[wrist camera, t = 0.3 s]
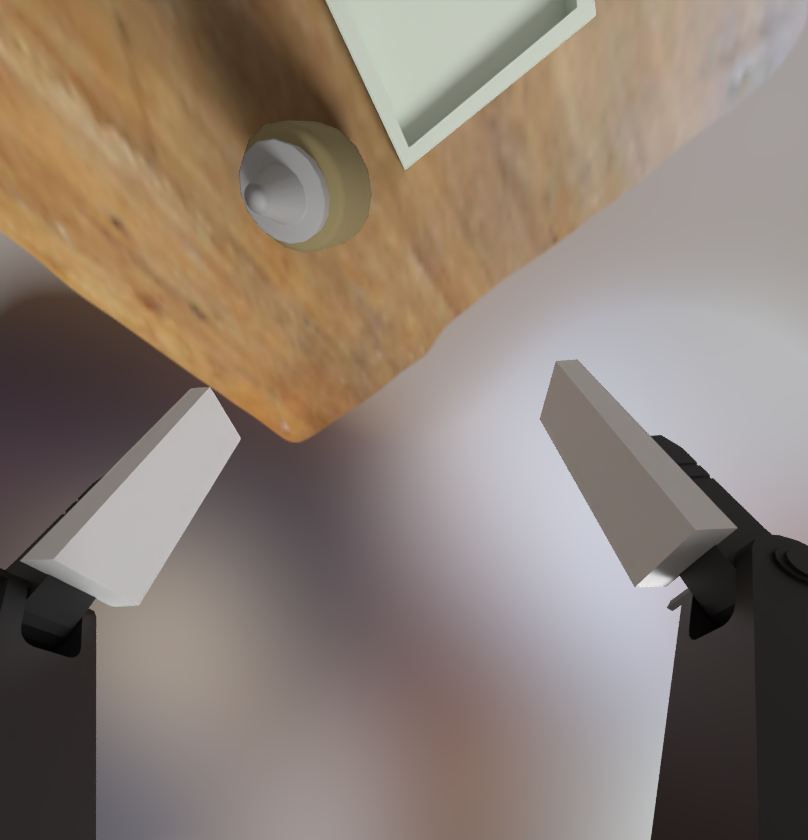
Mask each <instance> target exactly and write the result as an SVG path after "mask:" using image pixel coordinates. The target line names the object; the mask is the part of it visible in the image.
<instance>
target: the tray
mask: <svg viewBox="0 0 808 840" xmlns="http://www.w3.org/2000/svg"><path fill="white" fill-rule="evenodd" d="M325 1H326V3H327V5H328V7H329V10H330V12H331V14H332V16H333V18H334V20H335V22H336V25H337V27H338V29H339V31H340V33H341V35H342V37H343V40H344V42H345V44H346V46H347V48H348V50H349V52H350V54H351V57H352V59H353V61H354V63H355V65H356V67H357V69H358V72H359V74H360V76H361V78H362V80H363V82H364V84H365V87H366V89H367V91H368V93H369V95H370V97H371V99H372V101H373V104H374V106H375V108H376V110H377V112H378V114H379V116H380V119H381V121H382V123H383V125H384V127H385V129H386V131H387V134H388V136H389V138H390V140H391V142H392V144H393V146H394V148H395V151H396V153H397V155H398V157H399V159H400V161H401V163H402V166H403V168H404V170H406V169H408V168H409V167H410V166H411V165H413V164H414V163H415V162H416V161H418V160H419V159H420V158H421V157H422V156H424V155H425V154H426V153H427V152H429V151H430V150H431V149H432V148H434V147H435V146H436V145H437V144H439V143H440V142H441V141H442V140H443V139H445V138H446V137H447V136H448V135H450V134H451V133H452V132H453V131H455V130H456V129H457V128H458V127H460V126H461V125H462V124H463V123H464V122H466V121H467V120H468V119H469V118H471V117H472V116H473V115H474V114H476V113H477V112H478V111H479V110H481V109H482V108H483V107H484V106H486V105H487V104H488V103H489V102H490V101H492V100H493V99H494V98H495V97H497V96H498V95H499V94H500V93H502V92H503V91H504V90H505V89H507V88H508V87H509V86H510V85H511V84H513V83H514V82H515V81H516V80H518V79H519V78H520V77H521V76H523V75H524V74H525V73H526V72H528V71H529V70H530V69H531V68H532V67H534V66H535V65H536V64H537V63H539V62H540V61H541V60H542V59H544V58H545V57H546V56H547V55H549V54H550V53H551V52H552V51H554V50H555V49H556V48H557V47H558V46H560V45H561V44H562V43H563V42H565V41H566V40H567V39H568V38H570V37H571V36H572V35H573V34H575V33H576V32H577V31H578V30H579V29H581V28H582V27H583V26H584V25H585V24H587V23H588V22H589V21H590V20H591V19H592V18H594V17H595V16H596V10H595V2H594V0H325Z"/></svg>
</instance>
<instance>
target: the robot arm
mask: <svg viewBox="0 0 808 840" xmlns="http://www.w3.org/2000/svg"><path fill="white" fill-rule="evenodd" d="M540 420H541V422H542V424H543V425H544V427H545V429H546V431H547V433H548V434H549V436H550V438H551V440H552V441H553V443H554V445H555V447H556V449H557V450H558V452H559V454H560V456H561V457H562V459H563V461H564V463H565V464H566V466H567V468H568V470H569V472H570V473H571V475H572V477H573V479H574V480H575V482H576V484H577V485H578V487H579V489H580V491H581V493H582V495H583V496H584V498H585V500H586V502H587V503H588V505H589V507H590V509H591V510H592V512H593V514H594V516H595V518H596V519H597V521H598V523H599V525H600V526H601V528H602V530H603V532H604V533H605V535H606V537H607V539H608V541H609V542H610V544H611V546H612V548H613V549H614V551H615V553H616V555H617V557H618V558H619V560H620V562H621V564H622V565H623V567H624V569H625V571H626V572H627V574H628V576H629V578H630V580H631V581H632V583H633V585H634V587H658V586H667V585H669V584H670V583H671V582H672V581H674V580H675V579H676V578H677V577H678V576H680V577H681V578H682V580H683V581H684V583H685V584H686V585H687V587H688V589H686V590H685V591H683V592H682V593H681V594H679V595H678V596H677V597H675V598H674V599H673V600H671V601H670V603H669V605H668V607H667V608H668V609H670V610H672V611H673V610H675V609H676V608H677V607H679V606H680V605H682V606H681V614H680V621H679V628H678V637H677V644H676V651H675V659H674V667H673V674H672V682H671V690H670V697H669V705H668V713H667V720H666V728H665V735H664V743H663V751H662V759H661V766H660V774H659V782H658V789H657V797H656V804H655V812H654V819H653V827H652V835H651V840H808V546H807V545H805V544H803V543H801V542H799V541H797V540H793V539H790V538H786V537H783V536H780V535H771V533H770V532H768V531H767V530H766V529H764V528H763V526H762V525H761V524H759V522H758V521H756V520H755V519H754V518H753V517H752V516H751V515H750V514H749V513H748V512H747V511H746V510H745V509H744V508H743V507H742V506H741V505H740V504H739V503H738V502H737V501H736V500H735V499H734V498H733V497H732V496H731V495H730V494H729V493H728V492H727V491H726V490H725V489H724V488H723V487H722V486H721V485H719V483H717V482H716V481H715V480H714V479H713V478H712V479H711V478H710V475H709V474H708V473H707V472H706V471H705V470H704V469H703V468H702V467H701V466H698V465H697V462H696V461H695V460H694V459H693V458H692V457H691V456H690V455H689V454H687V452H686V451H685V450H684V449H683V448H681V447H680V446H678V445H676V444H675V443H673V442H671V441H670V440H668V439H667V438H665V437H663V436H662V435H658V436H650V435H649V434H648V433H647V432H646V431H645V430H644V429H643V428H642V427H641V426H640V425H639V424H638V423H637V422H636V421H635V420H634V419H633V418H632V416H631V415H630V414H629V413H628V412H627V411H626V410H625V409H624V408H623V407H622V406H621V405H620V404H619V403H618V402H617V401H616V400H615V399H614V397H613V396H612V395H611V394H610V393H609V392H608V391H607V390H606V389H605V388H604V387H603V386H602V385H601V384H600V383H599V382H598V381H597V380H596V379H595V378H594V377H593V376H592V374H591V373H590V372H589V371H588V370H587V369H586V368H585V367H584V366H583V365H582V364H581V363H580V362H579V361H578V360H566V361H556V363H555V367H554V370H553V374H552V377H551V381H550V385H549V388H548V392H547V395H546V399H545V402H544V406H543V409H542V413H541V417H540ZM240 439H241V438H240V436H239V434H238V433H237V431H236V429H235V428H234V426H233V424H232V423H231V421H230V420H229V418H228V416H227V414H226V413H225V411H224V409H223V408H222V406H221V405H220V403H219V401H218V400H217V398H216V396H215V395H214V393H213V391H212V390H211V388H210V387H203V388H191V389H190V390H189V391H188V392H187V393H186V394H185V395H184V396H183V397H182V398H181V399H180V400H179V401H178V402H177V403H176V404H175V405H174V406H173V407H172V408H171V409H170V410H169V411H168V412H167V413H166V414H165V415H164V416H163V417H162V418H161V419H160V420H159V421H158V422H157V423H156V424H155V425H154V426H153V427H152V428H151V429H150V430H149V431H148V432H147V433H146V434H145V435H144V436H143V437H142V438H141V439H140V440H139V441H138V442H137V444H135V445H134V446H133V447H132V448H131V449H130V450H129V451H128V453H126V455H125V456H123V458H122V459H120V460H119V462H118V463H116V464H115V466H114V467H112V469H111V470H110V471H109V472H108V473H107V474H106V475H104V476H103V477H101V478H100V479H99V480H97V481H96V482H94V483H93V484H92V485H91V486H90V487H89V488H88V489H87V490H86V491H85V492H84V493H83V494H82V495H81V496H80V497H79V498H78V501H76V502H74V503H73V504H72V505H71V506H70V507H69V508H68V509H67V510H66V513H65V514H62V515H61V516H60V517H59V518H58V519H57V520H56V521H55V522H54V523H53V524H52V525H51V526H50V527H49V528H48V529H47V530H46V531H45V532H44V533H43V534H42V535H41V536H40V537H39V538H38V539H37V540H36V541H35V542H34V543H33V544H32V545H31V546H30V547H29V548H28V549H27V550H26V551H25V552H24V553H23V554H22V555H21V556H20V557H19V558H18V559H17V560H16V561H15V562H14V563H13V564H11V565H10V566H9V567H8V568H7V569H6V570H3V569H1V568H0V840H96V615H95V612H94V611H92V610H90V609H88V608H89V607H90V605H91V604H92V602H93V601H94V600H95V599H98V600H100V601H102V602H104V603H106V604H108V605H110V606H112V607H115V606H138V605H139V604H140V603H141V601H142V599H143V598H144V596H145V595H146V593H147V591H148V590H149V588H150V586H151V585H152V583H153V581H154V580H155V578H156V576H157V575H158V573H159V572H160V570H161V568H162V567H163V565H164V564H165V562H166V560H167V559H168V557H169V555H170V554H171V552H172V550H173V549H174V547H175V545H176V544H177V542H178V540H179V539H180V537H181V536H182V534H183V533H184V531H185V529H186V528H187V526H188V524H189V523H190V521H191V519H192V518H193V516H194V515H195V513H196V511H197V510H198V508H199V506H200V505H201V503H202V501H203V500H204V498H205V496H206V495H207V493H208V492H209V490H210V488H211V487H212V485H213V484H214V482H215V480H216V478H217V477H218V475H219V474H220V472H221V470H222V469H223V467H224V466H225V464H226V462H227V461H228V459H229V457H230V456H231V454H232V452H233V451H234V449H235V448H236V446H237V444H238V443H239V441H240Z"/></svg>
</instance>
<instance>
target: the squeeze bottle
mask: <svg viewBox="0 0 808 840" xmlns="http://www.w3.org/2000/svg"><path fill="white" fill-rule="evenodd" d="M239 176H240V191H241V195H242V197H243V200H244V202H245V205H246V208H247V210H248V212H249V214H250V215H251V216H252V218H253V219H254V221H255V222H256V223H257V225H258V226H259V227H260V228H261V229H262V230H263V231H265V232H266V233H267V234H268V235H269V236H271V237H272V238H273V239H275V240H276V241H277V242H279V243H280V244H281V245H283V246H284V247H286V248H290V249H293V250H296V251H300V252H303V253H305V252H311V251H318V250H323V249H326V248H330V247H333V246H336V245H339V244H342V243H345V242H346V241H348V240H349V239H351V238H352V237H353V236H355V235H356V234H358V233H359V231H360V229H361V228H362V226H363V224H364V223H365V221H366V219H367V217H368V214H369V208H370V202H371V195H372V193H371V187H370V180H369V174H368V169H367V167H366V165H365V163H364V161H363V159H362V157H361V155H360V153H359V151H358V149H357V147H356V146H355V145H354V144H353V143H352V142H351V141H350V140H349V139H348V138H347V137H346V136H345V135H344V134H343V133H342V132H341V131H340V130H339V129H336V128H334V127H331V126H328V125H326V124H323V123H320V122H315V121H291V120H285V121H280V122H275V123H269V124H265V125H264V126H263V127H262V128H261V129H260V130H258V131H257V132H256V133H255V134H254V135H253V136H252V137H251V138H250V139H249V141H248V144H247V147H246V151H245V154H244V157H243V160H242V164H241V167H240V171H239Z"/></svg>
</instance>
